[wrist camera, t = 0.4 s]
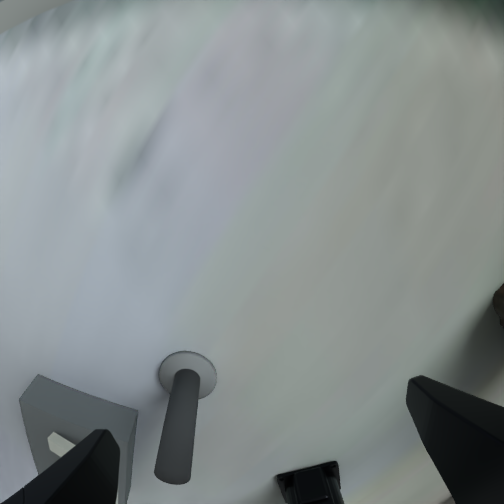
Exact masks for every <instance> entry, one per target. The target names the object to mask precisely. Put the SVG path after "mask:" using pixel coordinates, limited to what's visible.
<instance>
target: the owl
mask: <svg viewBox="0 0 504 504" xmlns="http://www.w3.org/2000/svg"><path fill="white" fill-rule="evenodd" d="M493 305H494V309H495V311H496V313H497V314H498V315H499V316H500V318H501V320H500V325H501V326H503V327H504V284H503V285H502V286H501V287H500V288H499V289H498V290H497V291H496V292H495V294H494V297H493Z"/></svg>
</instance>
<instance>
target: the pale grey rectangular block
mask: <svg viewBox="0 0 504 504" xmlns="http://www.w3.org/2000/svg"><path fill="white" fill-rule="evenodd" d="M48 443H49V448H50V450H51V451H52V452H54V453H55V454H57V455H58V456H60V457H62V456H63V455H64V454H66V453H67V452H68V451H69V450H70V449H72V448H73V447H74V446H75V445H74V444H73V443H71V442H69V441H68V440H66V439H65V438H63V437H61V436H60V435H58V434H57V433H55V432H53V433H52V434H51V435H50V436H49V437H48Z"/></svg>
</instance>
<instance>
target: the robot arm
mask: <svg viewBox="0 0 504 504" xmlns="http://www.w3.org/2000/svg"><path fill="white" fill-rule="evenodd" d="M406 404H407V407H408V409H409V412H410V414H411V416H412V419H413V421H414V423H415V426H416V428H417V431H418V433H419V435H420V438H421V440H422V442H423V444H424V446H425V448H426V450H427V452H428V454H429V455H430V457H431V459H432V461H433V462H434V464H435V466H436V468H437V470H438V471H439V473H440V475H441V477H442V479H443V480H444V482H445V484H446V486H447V488H448V490H449V491H450V493H451V495H452V497H453V499H454V501H455V503H456V504H504V407H502V406H499V405H497V404H494V403H491V402H489V401H486V400H483V399H481V398H478V397H476V396H473V395H470V394H468V393H465V392H463V391H460V390H458V389H455V388H453V387H450V386H448V385H445V384H443V383H440V382H438V381H435V380H433V379H430V378H428V377H425V376H423V375H419V376H416V377H414V378H411V379H410V380H409V381H408V387H407V395H406ZM119 465H120V447H119V445H118V444H117V442H116V440H115V439H114V437H113V435H112V434H111V432H110V431H109V430H108V429H95V430H94V431H92V432H91V433H90V434H89V435H88V436H86V437H85V438H84V439H83V440H81V441H80V442H79V443H78V444H77V445H75V446H74V447H73V448H72V449H70V450H69V451H68V452H67V453H66V454H64V455H63V456H62V457H61V458H59V459H58V460H57V461H56V462H54V463H53V464H52V465H51V466H49V467H48V468H47V469H46V470H44V471H43V472H42V473H41V474H39V475H38V476H37V477H36V478H34V479H33V480H32V481H30V482H29V483H28V484H27V485H25V486H24V488H21V489H20V490H19V491H18V492H16V493H15V494H14V495H12V496H11V497H9V498H8V499H7V500H5V501H4V502H2V503H1V504H116V499H117V492H118V480H119ZM277 481H278V484H279V487H280V489H281V492H282V494H283V497H284V499H285V502H286V503H287V504H344V501H343V498H342V495H341V492H340V489H341V486H340V476H339V466H338V463H337V461H332V462H329V463H325V464H322V465H318V466H314V467H310V468H306V469H302V470H298V471H294V472H289V473H285V474H280V475H278V476H277Z"/></svg>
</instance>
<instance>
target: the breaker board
mask: <svg viewBox="0 0 504 504" xmlns="http://www.w3.org/2000/svg"><path fill="white" fill-rule="evenodd" d="M19 402H20V407H21V412H22V416H23V421H24V425H25V429H26V433H27V437H28V441H29V444H30V448H31V452H32V455H33V458H34V462H35V465H36V468H37V471H38V474H41V473H42V472H43V471H44V470H46V469H47V468H48V467H49V466H51V465H52V464H53V463H54V462H56V461H57V460H58V459H59V458H61V457H60V456H58V455H57V454H55V453H54V452H52V451H51V450H50V448H49V443H48V437H49V436H50V435H51V434H52V433H53V432H55V433H57V434H58V435H60V436H61V437H63V438H65V439H66V440H68V441H69V442H71V443H73V444H74V445H77V444H78V443H79V442H80V441H81V440H83V439H84V438H85V437H86V436H88V435H89V434H90V433H91V432H92V431H94V430H95V429H108V430H109V431H110V432H111V434H112V435H113V437H114V439H115V440H116V442H117V444H118V445H119V447H120V465H119V480H118V492H117V499H116V504H127V500H128V496H129V492H130V487H131V475H132V463H133V452H134V442H135V432H136V423H137V415H138V410H134V409H131V408H128V407H124V406H121V405H118V404H115V403H112V402H109V401H106V400H103V399H100V398H97V397H94V396H91V395H89V394H86V393H83V392H80V391H78V390H75V389H73V388H70V387H68V386H65V385H63V384H60V383H58V382H55V381H53V380H50V379H48V378H46V377H44V376H41V375H39V374H38V375H37V376H36V378H35V379H34V380H33V382H32V383H31V384H30V386H29V387H28V388H27V389H26V391H25V392H24V393H23V395H22V396H21V397H20V399H19Z"/></svg>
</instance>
